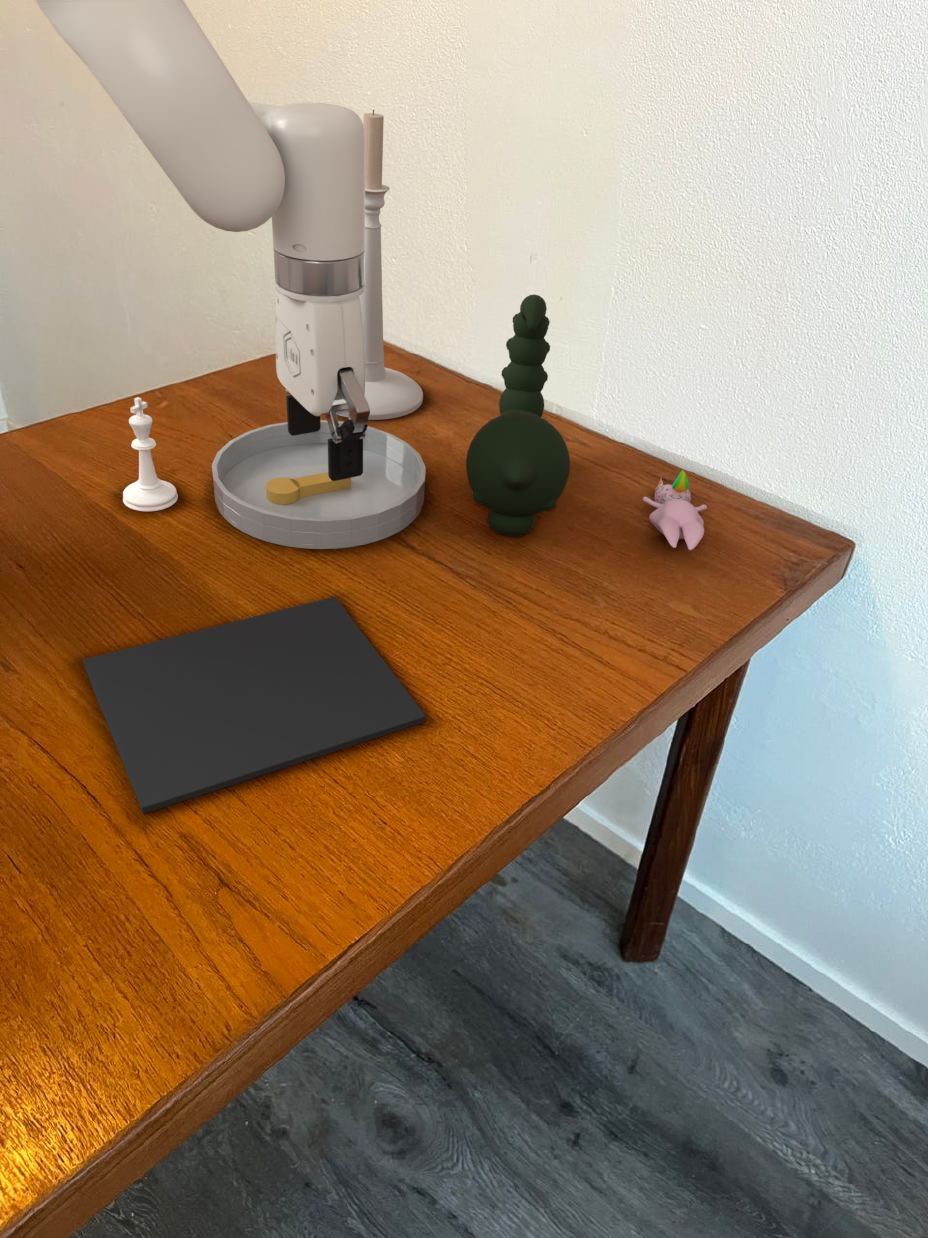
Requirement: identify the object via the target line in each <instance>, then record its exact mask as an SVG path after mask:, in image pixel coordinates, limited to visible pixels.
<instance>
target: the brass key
mask: <svg viewBox="0 0 928 1238" xmlns="http://www.w3.org/2000/svg"><path fill="white" fill-rule="evenodd" d="M348 488H351V478H347V479H342V480H337V481H332V480H331V479H330V478H329V476H328V472H325V473H320V474H315V475H309V476H304V477H299V478H294V479H292V478H286V477H280V478H275V479H272V480H270V481H268V482H267V484H266V497H267V499H268V500H269V501H270V502H272V503H275V504H282V505H284V504H291V503H294V502H296V501H298V500H299V499H300V498H302V497H307V496H312V495H317V494H322V493H327V492H332V491H337V490H342V489H348Z"/></svg>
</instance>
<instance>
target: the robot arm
mask: <svg viewBox="0 0 928 1238" xmlns="http://www.w3.org/2000/svg"><path fill="white" fill-rule="evenodd" d="M33 1H34V2H35V3H36V4H37V6H38V8H39V9H40V10H41V12H42V13H43V15H44V17H46V19H47V20H48V21H49V23H50V25H51V26H52V27H53V29H54V30H55V31H56V33H57V35H59V36H60V38H61V39H62V40H63V41H64V42H65V43H66V45H68V47H69V48H70V49H71V50H72V52H74V53H75V55H76V56H77V57H78V58H79V59H80V60H81V62H82V63H83V64H84V65H85V66H86V67H87V69H88V70H89V72H91V74H92V75H93V77H95V79H96V80H97V82H98V83H99V84H100V85H101V86H102V88H103V90H104V91H105V93H106V94H107V95H108V97H109V98H110V99H111V100H112V102H113V103H114V105H115V106H116V107H117V109H118V110H119V112H120V113H121V114H122V116H123V117H124V118H125V120H126V122H127V123H128V124H129V125H130V127H131V128H132V130H133V131H134V132H135V134H136V135H137V136H138V138H139V139H140V140H141V142H142V143H143V145H144V146H145V148H147V150H148V152H149V153H150V154H151V155H152V157H153V158H154V160H155V162H156V163H157V164H158V165H159V167H160V168H161V169H162V171H163V172H164V174H165V175H166V176H167V178H168V179H169V181H170V182H171V183H172V185H173V186H174V187H175V189H176V190H177V192H179V194H180V196H181V197H182V198H183V200H184V201H185V203H186V204H187V205H188V207H189V208H190V209H191V210H192V212H193V213H194V214H196V216H197V217H199V218H200V219H201V220H202V221H203V222H205V223H206V224H208V225H210V226H212V227H214V228H216V229H219V230H222V231H224V232H225V231H226V232H233V233H242V232H248V231H251V230H255V229H258V228H259V227H261V226H262V225H264V224H266V223H267V222H268V221H269V220H270V219H271V227H272V228H271V230H272V246H273V265H274V268H273V269H274V284H275V285H274V286H275V290H276V299H275V300H276V301H275V371H276V376H277V379H278V381H279V382H280V384H281V385H282V386H283V388H284V391H285V393H286V396H285V398H286V399H285V400H286V420H287V421H286V422H288V432H289V433H290V435H292V436H295V435H300V434H306V433H311V432H317V431H319V430H320V428H321V424H320V420H321V416H322V415H323V414H325V418H326V420H327V422H328V425H329V429H330V432H331V436H332V439H328V476H329V478H330V479H331V480H332V481H337V480H342V479H347V478H352V477H357V476H360V475H362V473H363V438H365V431H366V430H367V427H368V426H369V425H368V421H369V420H368V417H369V414H370V407H369V405H368V403H367V401H366V399H365V396H364V395H365V354H364V337H363V324H362V313H361V304H360V298H359V296H360V295H361V294H362V293H364V291H365V130H364V126H363V120H362V119H361V117H360V115H358V113H356V112H355V111H354V110H352V109H350V108H347V107H346V106H342V105H339V104H338V105H337V104H331V103H324V102H323V103H322V102H293V103H286V104H284V105H272V104H265V103H255V102H249V101H248V99H247V98H246V96H245V94H244V93H243V91H242V90H241V89H240V86H239V85H238V84H237V83H236V80H235V79H234V77H233V75H232V74H231V73H230V71H229V70H228V68H227V66H226V64H225V63H224V62H223V60H222V59H221V57H220V55H219V54H218V53H217V51H216V49H215V48H214V46H213V45H212V43H211V41H210V40H209V38H208V37H207V35H206V34H205V32H204V30H203V29H202V28H201V26H200V25H199V22H197V20H196V17H194V15H193V13H192V12H191V10H190V9H189V7H188V6H187V4H186V2H185V1H184V0H33ZM341 399H344V400H345V401H346V403H344V404H338V405H333V402H334V401H335V400H341ZM348 412H349V415H348V416H349V418H348V419H345V420H343V421H342V422H343V424H342V425H341V426H339V423H338V421H339V420H338V415H337V414H342V413H348Z"/></svg>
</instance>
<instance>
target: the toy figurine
mask: <svg viewBox="0 0 928 1238" xmlns="http://www.w3.org/2000/svg"><path fill="white" fill-rule="evenodd" d="M547 309H548V308H547V302H546V301H545V299H544V298H543V297H542V296H540V295H539V294H535V293H534V294H529V295H527V296H526V297H525V298H523V300H522V301H521V304H520V306H519V312H518V313H515V314H514V315H513V317H512V327H513V332H514V335H513V336H512V337H510V338H508V339H507V341H506V344H505V347H506V350H508V357H509V360H510V362H509V363H508V365H507V366H505V367H503V368H502V370H501V377H502V379H503V382H504V387H505V389H504V390H503V391H502V393H501V394H500V396H499V397H500V398H499V401H498V411H499V415H498V416H496V417H493V418H492V419H490V420H489V421H488V422H486V423H485V424H483V425H482V426H481V428H479V430H478V431H477V432H476V433H475V434H474V436H473V438H472V440H471V442H470V444H469V446H468V449H467V453H466V457H465V458H466V459H465V470H466V477H467V482H468V484H469V488H470V490H471V492H472V499H473V500H474V501H475V503H477V504H479V505H483V506H484V507H486V508H487V509H489V512H488V514H487V515H488V516H487V523H488V526H489V528H490V529H491V530H492V531H493V532H494V533H496V534H499V535H502V536H506V537H522V536H525V535H527V534H529V533H531V531H532V530H533V528H534V525H535V515H538V514H540V513H542V512H544V511H545V512H550V511H552V510H554V509H555V508H556V506H557V502H558V500H559V498H560V497H561V495H562V494H563V492H564V491H565V488H566V485H567V482H568V480H569V476H570V471H571V459H570V452H569V448H568V446H567V443H566V441H565V439H564V437H563V436H562V434H561V433H560V432H559V430H558V429H557V428H556V427H555V426H554V425H553V424H551V422H549V421H548V420H547V419H545V418H543V414H544V411H545V399H544V396H543V393H542V390H543V389H544V387H545V383H546V382H547V381H548V378H549V374H548V373H547V371H546V370H545V368H544V366H543V364H544V363H545V361H546V358H547V355H548V354H549V352H550V350H551V345H550V343H549V342H548V341H547V340H546V338H545V337H546V336H547V333H548V330H549V326H550V323H551V322H550V318H549V317H548V316H547V315H546V314H547Z"/></svg>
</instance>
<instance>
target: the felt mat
mask: <svg viewBox="0 0 928 1238" xmlns="http://www.w3.org/2000/svg"><path fill="white" fill-rule="evenodd" d="M82 666H83V668H84V671H85V673H86V675H87V678H88V680H89V683H90V685H91V688H92V690H93V693H94V695H95V698H96V700H97V703H98V705H99V708H100V710H101V713H102V716H103V718H104V720H105V723H106V725H107V728H108V730H109V733H110V735H111V738H112V740H113V743H114V745H115V748H116V751H117V753H118V755H119V757H120V760H121V762H122V763H121V764H122V765H123V768H124V770H125V773H126V776H127V777H128V780H129V782H130V786H131V788H132V790H133V793H134V795H135V797H136V800H137V803H138V805H139V808H140V810H141V813H142V814H149V813H151V812H153V811H158V810H161V809H164V808H166V807H170V806H173V805H176V804H178V803H182V802H184V801H187V800H191V799H194V798H197V797H199V796H203V795H206V794H209V793H213V792H215V791H218V790H221V789H224V788H227V787H230V786H233V785H237V784H240V783H243V782H246V781H249V780H253V779H255V778H258V777H261V776H264V775H267V774H270V773H273V772H277V771H280V770H282V769H285V768H289V767H291V766H295V765H298V764H301V763H303V762H304V763H305V762H307V761H310V760H313V759H316V758H320V757H323V756H325V755H328V754H332V753H335V752H338V751H341V750H344V749H347V748H350V747H353V746H357V745H360V744H363V743H365V742H368V741H369V742H370V741H372V740H374V739H378V738H380V737H381V738H382V737H384V736H386V735H389V734H393V733H396V732H400V731H402V730H405V729H409V728H411V727H414V726H417V725H420V724H423V723H426V721H427V715H426V714H425V712H424V711H423V710H422V709H421V707H420V706H419V704H418V703H417V702H416V701H415V700H414V698H413V696H411V694H410V693H409V692H408V690H407V689H406V687H405V686H404V685H403V684H402V682H401V681H400V680H399V678H398V677H397V676H396V674H395V673H394V672H393V670H392V669H391V668H390V667H389V665H388V664H387V663H386V662H385V659H383V657H382V656H381V654H379V652H378V651H377V649H376V648H375V647H374V646H373V644H372V643H371V642H370V641H369V639H368V638H367V636H366V635H365V634H364V632H362V630H361V629H360V628H359V626H358V625H357V624H356V622H355V621H354V620H353V618H352V617H351V615H350V614H349V613H348V612H347V610H346V609H345V608H344V607H343V605H342V604H341V603H340V601H339V600H338V599H337V597H336V596H332V597H326V598H323V599H319V600H316V601H312V602H308V603H304V604H299V605H295V606H291V607H287V608H284V609H280V610H275V611H272V612H268V613H264V614H259V615H256V616H251V617H247V618H244V619H240V620H236V621H232V622H228V623H224V624H220V625H215V626H211V627H208V628H203V629H200V630H196V631H192V632H187V633H184V634H180V635H175V636H172V637H167V638H164V639H159V640H156V641H152V642H147V643H144V644H139V645H136V646H131V647H128V648H124V649H119V650H116V651H113V652H107V653H104V654H99V655H96V656H92V657H88V658H84V659H82Z"/></svg>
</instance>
